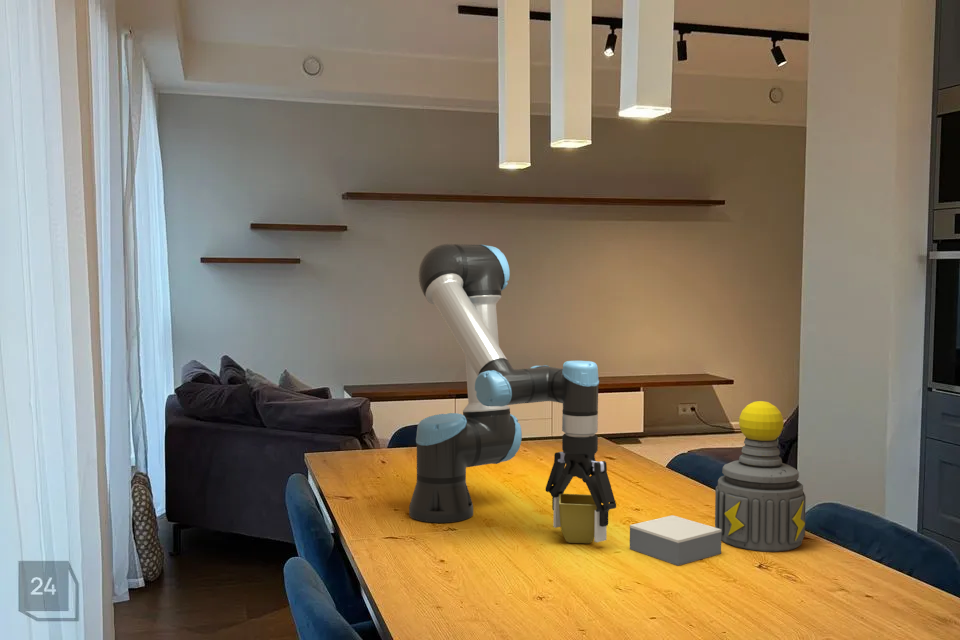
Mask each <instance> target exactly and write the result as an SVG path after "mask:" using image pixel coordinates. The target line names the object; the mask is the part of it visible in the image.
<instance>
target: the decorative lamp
mask: <svg viewBox="0 0 960 640" xmlns="http://www.w3.org/2000/svg"><path fill="white" fill-rule="evenodd" d="M738 425H739V429H740V431H741V433H742V434H743V436H744V437H745V438H744V441H743V444H744V446H742V448H741V451H740V452H741V453H742V454H741V455H739V458H738V460H733V461H731V462H728V463H725V464H724V465H723V466H722V474H723V475H721V476H719V478H718V480H717V486H715V494H714V495H715V498H714V500H715V501H714V502H715V504H714V505H715V507H714V508H715V509H714V527H715V528H718V529H721V542H723V543H725V544H727V545H729V546H731V547H732V546H733V547H734V548H739V549H743V550H746V551H747V550H749V551H755V552H756V551H757V552H772V553H775V552H787V551H791V550H795V549H797V548H798V547H800V546H802V544H803V543H802V542H803V540H804V537H805V535H806V503H807V502H806V501H807V500H806V497H807V496H806V494H805V492H804V484H802V483H801V482H800V481H798V480H799V477H800V475H799V474H800V472H799V470H797V469H796V468H795V467H793V466H791V465H789V464H787V463H784V462H783V460H782V457H780V454H781V452H780V449H779V448H778V440H777V439H778V437H780V436H781V433H782V431H783V429H784V418H783V415H782V412H781V411H780V410H779V408H778V407H777V406H776V405H774V404H772V403H770V402H769V401H763V400H759V401H752V402H751V403H749V404H747V405H746V406H745V407H744V408H743V409H742V410H741V412H740V415H739V418H738Z"/></svg>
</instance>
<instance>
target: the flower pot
mask: <svg viewBox="0 0 960 640" xmlns="http://www.w3.org/2000/svg"><path fill="white" fill-rule="evenodd" d="M596 509H597V506H596V504H595V502H594V500H593V498H592V496H591V494H584V493H583V494H582V493H581V494H578V493H563V494H559V513H560V525H561V527H560V528H561V533H562V535H563V538H564V540H565V541H566V542H565V543H569V544H572V543H573V544H574V543H575V544H586V545H587V544H589V545H590V544H591V543H592V542H593V540H594V532H595V510H596Z"/></svg>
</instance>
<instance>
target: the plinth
mask: <svg viewBox="0 0 960 640" xmlns="http://www.w3.org/2000/svg"><path fill="white" fill-rule="evenodd" d="M629 550H631V551H635V552H638V553H641V554H643V555H647V556H649V557H652V558H655V559H657V560H660V561H662V562H666V563H669V564H671V565H674V566H682V565H685V564H689V563H693V562H696V561H699V560H700V561H701V560H703V559H707V558H710V557H713V556H717V555H721V554H722V541H721V529H718V528H715V526H711V525H708V524H704V523H701V522H697V521H694V520H690V519H688V518H684V517H681V516H677V515H667V516H663V517H659V518H656V519H650V520H647V521H642V522H638V523H634V524H629Z"/></svg>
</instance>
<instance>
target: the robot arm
mask: <svg viewBox="0 0 960 640" xmlns="http://www.w3.org/2000/svg"><path fill="white" fill-rule="evenodd" d="M510 275H511V271H510V266H509V262H508V260H507V257H506V256H505V254H504V252H502V251H501V249H499V248H498V247H495V246H492V245H485V244H460V243H459V244H458V243H457V244H456V243H455V244H452V243H443V244H438V245H435V247H432V248H431V249H430V250H428V252H427V253H426V254H425V255H424V256H423V258H422V260H421V262H420V265H419V269H418V282H419V287H420V289H421V292H422V293H423V295H424V297H425V299H426V300H427V302H428V303H430V304H431V305H435V307H436V309H437V310H438V312H439V314H440V315H441V318H442V319H443V321H444V322H445V324H446V326H447V327H448V328H449V331H450V332H451V334H452V336H453V337H454V339H455V341H456V343H457V344H458V346H459V348H460V349H461V350H462V352H463V354H464V357H465V359H464V360H465V372H466V384H467V385H466V387H467V388H466V389H467V401H468V403H467V405H466V406H465V407H464V408H463V410H462V413H456V412H454V413H453V412H452V413H451V412H450V413H440V414H439V413H438V414H435V415H431V416H428V417H425V418H423V419H421V420H420V422H419V423H418V424H417V427H416V428H417V429H416V437H415V443H416V484H415V486H414V491H413V493H412V496H411V500H410V502H409V507H408V508H409V509H408V511H409V512H408V513H409V514H408V515H409V517H410V518H411V519H413V520H416V521H420V522H424V523H434V524H435V523H437V524H439V523H445V524H446V523H454V522H462V521H465V520H468V519H470V518H471V517H472V516H474V505H473V501H472V498H471V497H472V496H471V495H470V492H469V488H468V484H467V480H466V479H467V478H466V476H467V472H466V471H467V470H466V469H467V468H470V467H471V468H472V467H478V466H485V465H492V464H493V465H497V464H500V463H503V462H507V461H510V460H512V459H513V458H514V457H515V456H516V455H517V453H518V452H519V450H520V447H521V444H522V439H523V438H522V437H523V436H522V434H523V433H522V426H521V423H520V422H519V420H518V418H517V417H516V416H515V415H513V414H512V413H511V407H510V406H511V405H519V404H520V405H521V404H530V403H532V404H534V403H543V402H554V403H559V404H562V410H561V411H562V416H561V417H562V419H561V421H562V424H561V426H562V427H561V431H562V432H563V435H562V440H561V441H562V443H561V445H562V447H561V449H562V451H559V452H557V451H556V452H555V453H554V457H553V458H554V459H553V460H554V461H553V464H552V467H551V469H550V474H549V476H548V479H547V483H546V485H545V492H546V493H549V494H550V496H551V498H552V502H551V503H552V507H551V508H552V511H553V524H552V525H553V528H561V525H560V513H559V494H565V493H564V492H565V491H566V489H567V487H568V486H569V485H570V483H571V481H572V480H573V479H574V477H575V478H578V479H581V481H582V482H583V483H585V484H586V487H587V488H588V491H589V493H590V495H591V496H592V498H593V500H594V502H595V504H596V506H597V509H596V510H595V532H594V539H593V540H594V541H593V542H594V543H599V542H605V541H607V526H609V511H610V510H613V509H617V503H616V498H615V496H614V493H613V492H614V491H613V490H612V489H613V488H612V486H611V481H610V479H609V474H608V468H607V467H608V466H607V462H606V461H605V460H604V461H603V460H602V461H601V460H600V461H596V457H595V456H596V454H597V452H598V451H599V450H598V449H599V445H598V444H599V443H598V442H599V441H598V440H599V439H598V438H599V437H598V435H597V433H598V430H599V429H598V428H599V426H598V425H599V421H598V419H599V415H598V414H599V410H598V409H599V384H600V379H599V369H598V368H599V367H598V365H597V363H596V362H595V361H591V360H567V361H564V363H563V365H562V368H559V367H553V366H549V365H533V366H531V367H530V368H529V367H528V368H516V369H515V368H514V367H513V365H512V364H511V363H510V362H509V360H508V358H507V357H506V356H505V354H504V352H503V350H502V349H501V347H500V341H499V327H498V315H497V304H498V302H499V301H500V300H501V299H502V291H503V290H505V289H506V288H507V286H508V284H509V283H508V282H509V281H510V277H511V276H510Z"/></svg>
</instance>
